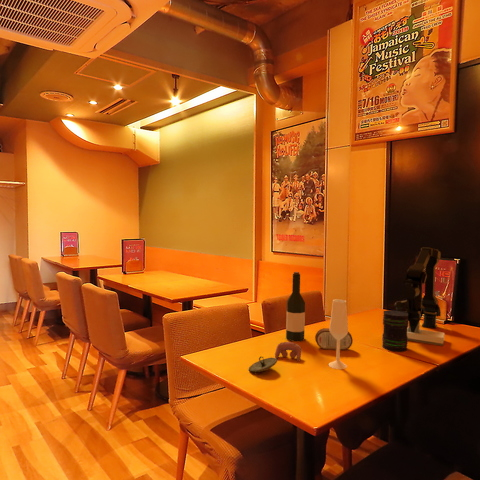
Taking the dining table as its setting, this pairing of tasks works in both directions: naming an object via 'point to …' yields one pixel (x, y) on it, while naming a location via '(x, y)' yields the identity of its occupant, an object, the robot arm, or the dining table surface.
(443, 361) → the dining table surface
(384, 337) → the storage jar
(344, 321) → the champagne flute
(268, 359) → the lid
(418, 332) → the plug
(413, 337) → the cream socket panel
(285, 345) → the video game controller
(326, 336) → the tin
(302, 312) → the wine bottle
